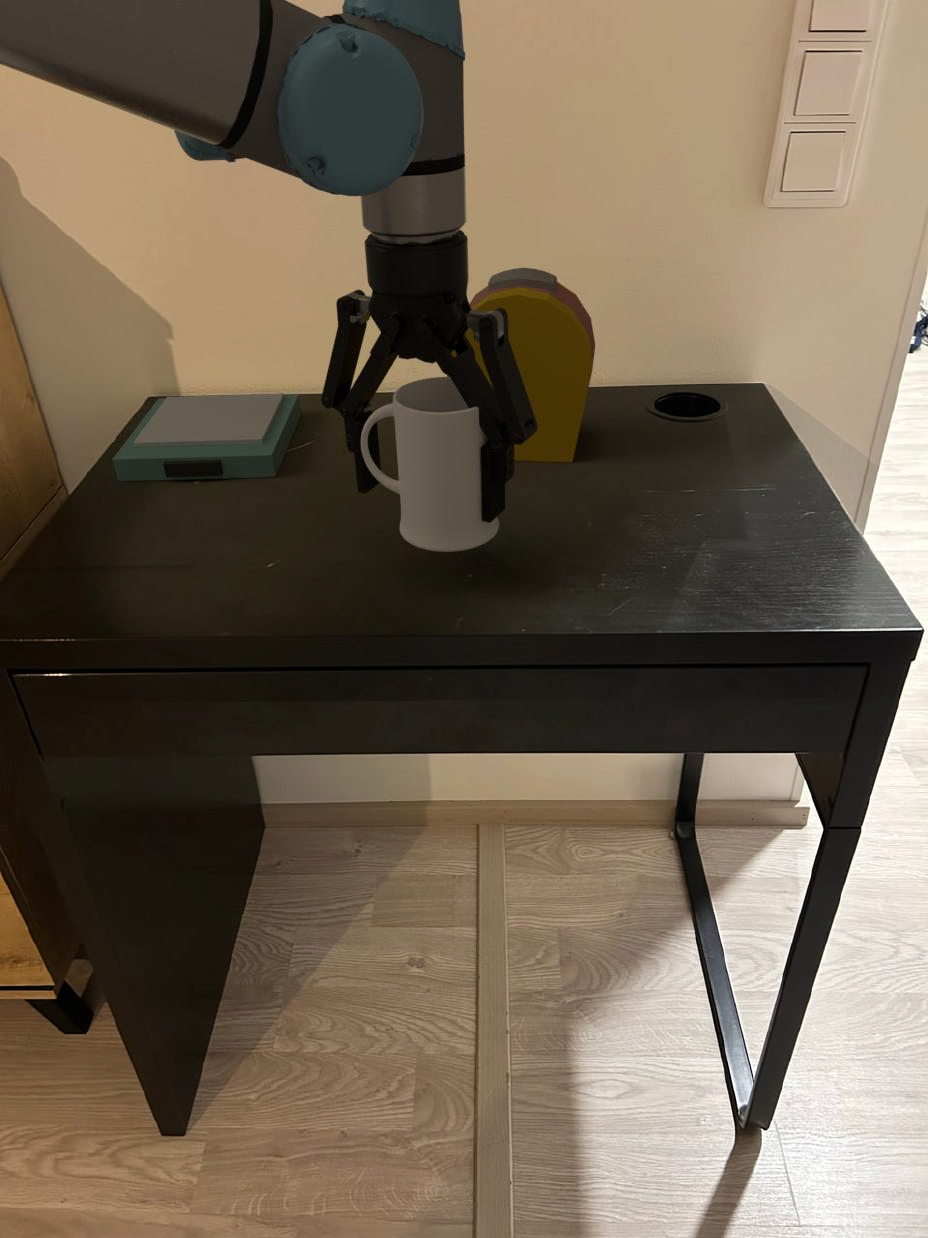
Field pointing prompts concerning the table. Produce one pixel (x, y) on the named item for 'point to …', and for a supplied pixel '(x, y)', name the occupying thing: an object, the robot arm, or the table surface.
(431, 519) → the mug
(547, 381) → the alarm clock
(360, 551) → the table surface
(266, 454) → the scale
